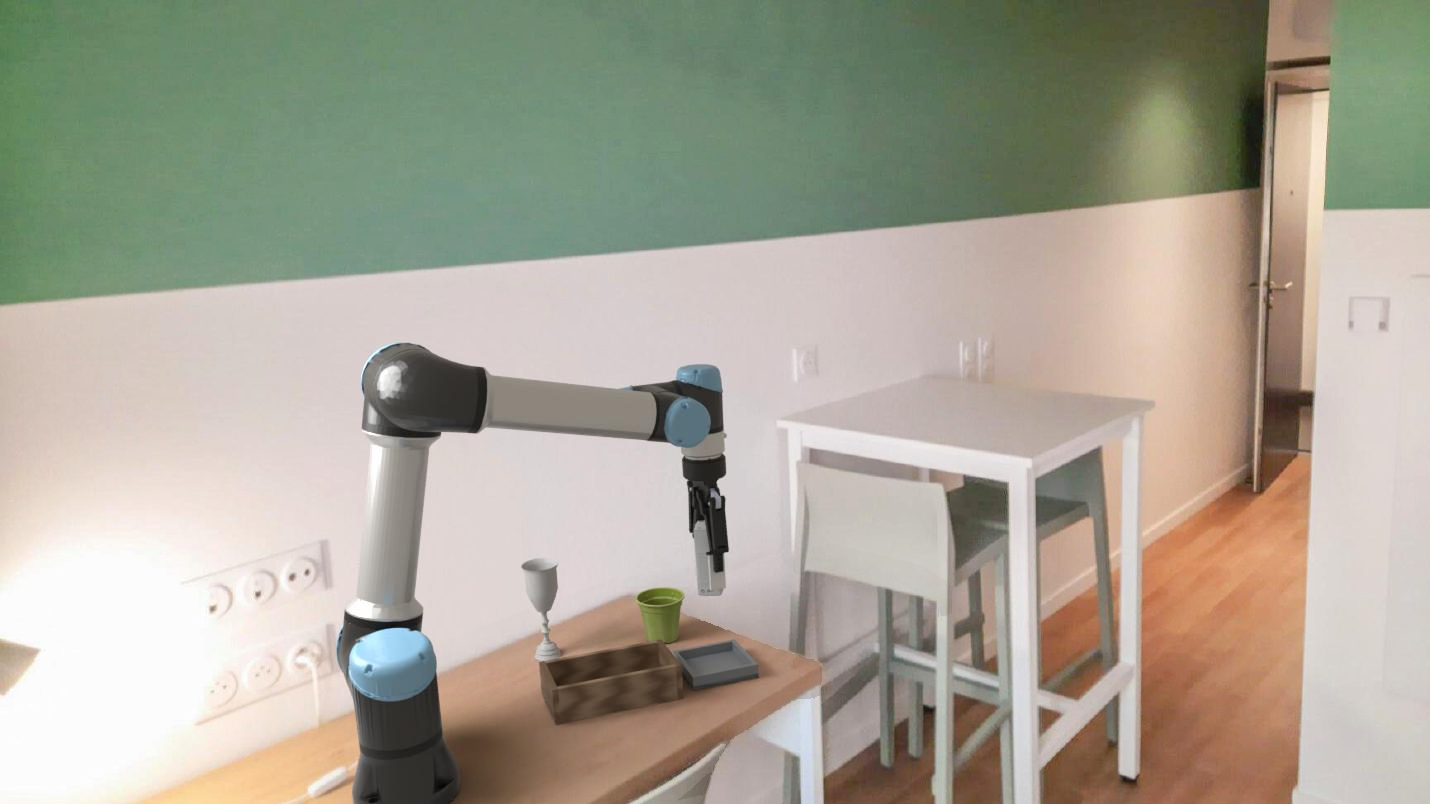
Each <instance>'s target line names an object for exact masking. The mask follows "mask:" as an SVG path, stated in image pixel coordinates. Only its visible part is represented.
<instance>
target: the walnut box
mask: <svg viewBox="0 0 1430 804" xmlns="http://www.w3.org/2000/svg"><path fill="white" fill-rule="evenodd" d="M538 666H539V677H540V689H541V690H540V691H541V696H542V698H543V701H544V703H545V705H546V707H547V709H548V712H549V715H550V716H552V717H551V718H552V719H551V720H552V721H553V724H554V725H561V724H565V723H570V722H574V721H579V720H581V721H582V720H584V719H585V720H586V719H589V718H594V717H599V716H605V715H608V714H613V713H618V712H624V711H629V710H630V711H631V710H633V709H638V708H644V707H649V706H654V705H657V704H662V703H668V702H673V701H677V700H678V701H679V700H683V699H684V685H683V684H684V682H683V676H682V666H681V664H680V663H679V662H678V660H677V659H676V658H675V656H674V655H673V651H671V650H670V649H669V647H668V646H667V645H666V643H664V642H663V641H662V639H661V640H655V641H650V642H649V641H644V642H640V643H634V644H630V645H629V644H628V645H624V646H618V647H613V648H607V649H602V650H598V651H591V652H586V653H581V654H575V655H570V656H564V657H558V658H556V659H553V660H547V661H539V662H538Z"/></svg>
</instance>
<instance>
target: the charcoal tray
mask: <svg viewBox="0 0 1430 804" xmlns="http://www.w3.org/2000/svg"><path fill="white" fill-rule="evenodd" d="M672 654H673V655H674V656H675V658H676V659H677V660H678V662H679V663H680V664H681V666H682V678H683V679H684V680H685V681H686V683H687V684H688V685H689V686H690V688H691V689H692V691H695V692H696V691H700V690H704V689H710V688H714V687H718V686H719V687H720V686H723V685H729V684H734V683H739V682H745V681H749V679H750V680H754V679H759V678H760V675H759V674H760V673H759V672H760V671H759V664H758V662H757V661H756V660H755V659H754V658H753V657H752V656H751V655H750V654H749V653H748V652H747V651H746V650H745V649H744V647H743V646H741V644H740V643H739V642H738V641H737V640H736V639H729V640H723V641H718V642H713V643H706V644H703V645H697V646H693V647H687V648H682V649H676V650H672ZM753 678H754V679H753Z"/></svg>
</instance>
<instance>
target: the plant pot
mask: <svg viewBox="0 0 1430 804" xmlns="http://www.w3.org/2000/svg"><path fill="white" fill-rule="evenodd" d="M685 597H686V596H685V593H684V592H683V591H682V590H680V589H678V588H674V587H667V586H666V587H665V586H664V587H654V588H648V589H645V590H642V591H640V592H639V593H637V594H636V596H635V601H636V603H637V604H638V608H639V610H640V613H641V614H640V615H641V617H642V622H643V623H642V624H643V627H644V633H645V639H646V640H647V642H650V641H655V640H661V639H662V641H663V642H664V643H665V644H671V643H673V642H675V641H676V640H678V638H679V633H680V632H679V630H680V617H681V608H682V605H683V600H684V599H685Z"/></svg>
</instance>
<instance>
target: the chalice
mask: <svg viewBox="0 0 1430 804" xmlns="http://www.w3.org/2000/svg"><path fill="white" fill-rule="evenodd" d="M558 565H559V560H558V559H556V558H553V557H538V558H533V559H530V560H527V561H525V562H523V563H522V564H521V567H520V568H521V569H522V571H523V572H524V580H525V590H526V591H525V592H526V595H527V596H528V599H529V601H530V603H531V605H532V606H533V607H534V609H535V611H536V612H538V613H541V614H540V615H541V620H540V623H541V624H542V629H541V631H540V632H541V634H542V635H543V640H542V641H541V642H539V644H538V645H537V646H536V650H535V653H534V656H533V657H534V659H535V660H536V661H539V662H542V661H547V660H553V659H558V658H561V656H562V652H561V651H560V648H559V647H558V645H557V643H556V642H555V641H553V640H551V639H550V637H549V636H550V632H551V629H549V627H548V626H549V623H550V620H549V619H548V614H547V613H548V612H549V611H551V610H552V607H553V605H554V603H555V601H556V597H557V592H558V589H559V583H558V572H557V568H558Z"/></svg>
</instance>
